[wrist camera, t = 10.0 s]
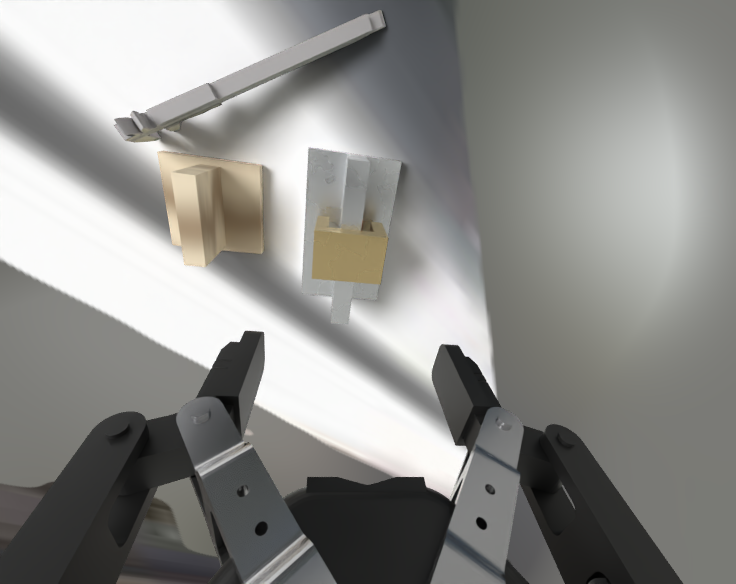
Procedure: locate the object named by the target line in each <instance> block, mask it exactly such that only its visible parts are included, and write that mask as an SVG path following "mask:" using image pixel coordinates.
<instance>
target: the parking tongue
mask: <svg viewBox="0 0 736 584" xmlns="http://www.w3.org/2000/svg"><path fill="white" fill-rule="evenodd" d="M157 153H158V159H159V165H160V171H161V177H162V183H163V189H164V195H165V201H166V208H167V214H168V220H169V226H170V232H171V238H172V244H173V245H177V246H182V252H183V259H184V265H189V266H200V267H206V266H207V265H208V264H209V263H210V262H211V261H212V260H213V259H214V258H215V257H216V256H217V255H218V254H219V253H220V252H221V251H222V250H226V251H235V252H245V253H255V254H262V252H263V251H264V241H263V182H262V165H259V164H252V163H245V162H238V161H231V160H224V159H217V158H210V157H203V156H196V155H189V154H182V153H175V152H168V151H159V152H157Z"/></svg>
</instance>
